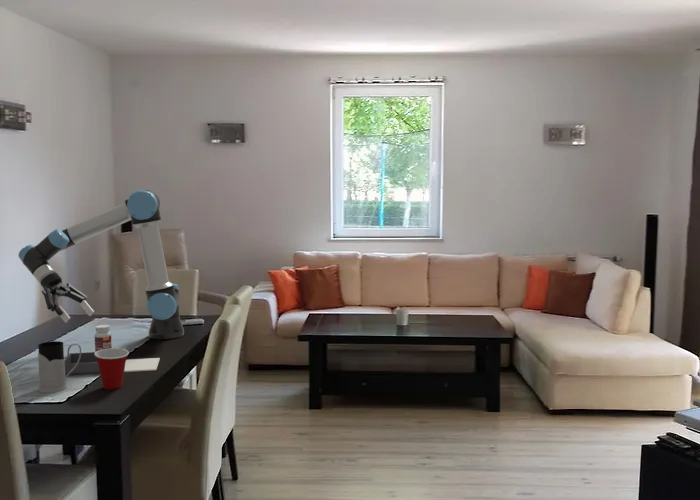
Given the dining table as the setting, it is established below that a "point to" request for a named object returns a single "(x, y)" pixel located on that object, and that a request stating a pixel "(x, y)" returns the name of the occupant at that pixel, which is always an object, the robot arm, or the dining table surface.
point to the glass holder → (53, 366)
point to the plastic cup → (111, 366)
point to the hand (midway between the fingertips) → (80, 317)
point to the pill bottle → (102, 338)
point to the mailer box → (90, 366)
